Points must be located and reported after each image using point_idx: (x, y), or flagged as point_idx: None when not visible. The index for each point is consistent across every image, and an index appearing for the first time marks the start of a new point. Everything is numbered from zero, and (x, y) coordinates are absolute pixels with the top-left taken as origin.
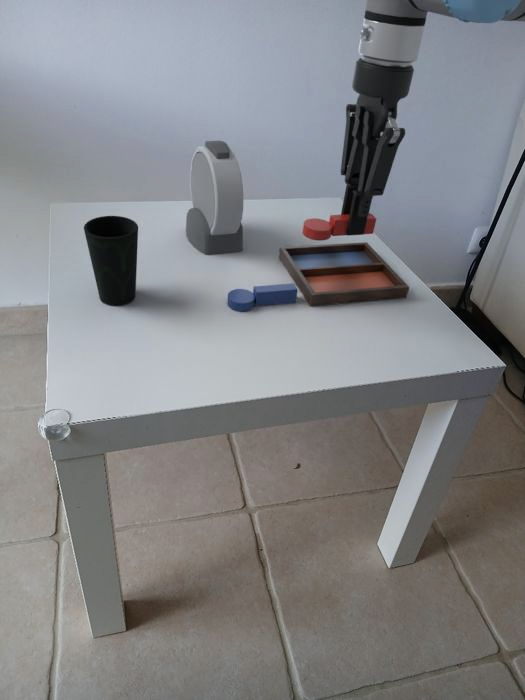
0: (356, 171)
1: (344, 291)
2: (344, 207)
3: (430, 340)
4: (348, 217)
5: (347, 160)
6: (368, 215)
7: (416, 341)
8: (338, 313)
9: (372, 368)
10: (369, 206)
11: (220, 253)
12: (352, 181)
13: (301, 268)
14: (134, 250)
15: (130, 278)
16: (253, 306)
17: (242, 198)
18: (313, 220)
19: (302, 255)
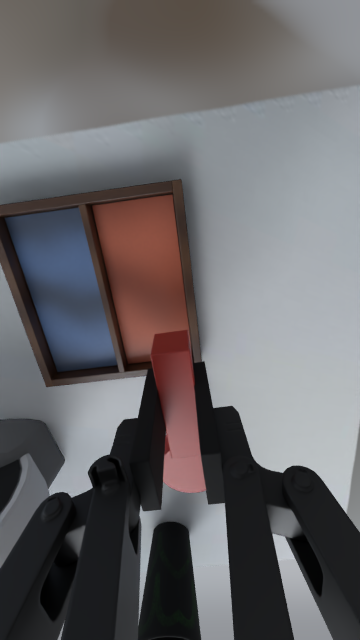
0: (133, 559)
1: (194, 318)
2: (164, 446)
3: (316, 192)
4: (185, 423)
5: (59, 616)
6: (169, 367)
7: (313, 221)
8: (221, 323)
9: (353, 314)
10: (244, 434)
11: (57, 446)
12: (137, 513)
13: (119, 368)
14: (182, 600)
15: (185, 559)
16: None
17: (6, 522)
18: (170, 474)
19: (51, 345)
